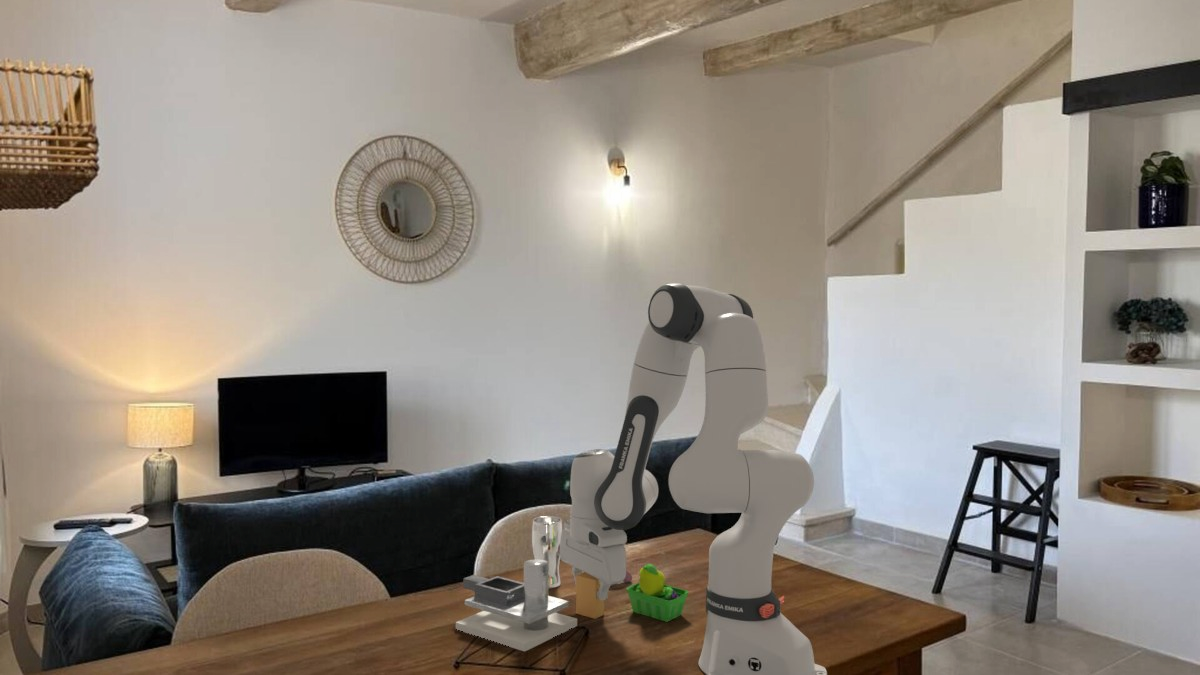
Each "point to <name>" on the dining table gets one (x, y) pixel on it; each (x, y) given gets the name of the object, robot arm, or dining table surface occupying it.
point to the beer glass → (548, 545)
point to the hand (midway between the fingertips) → (590, 593)
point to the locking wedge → (588, 596)
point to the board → (514, 629)
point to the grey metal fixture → (517, 596)
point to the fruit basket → (656, 595)
